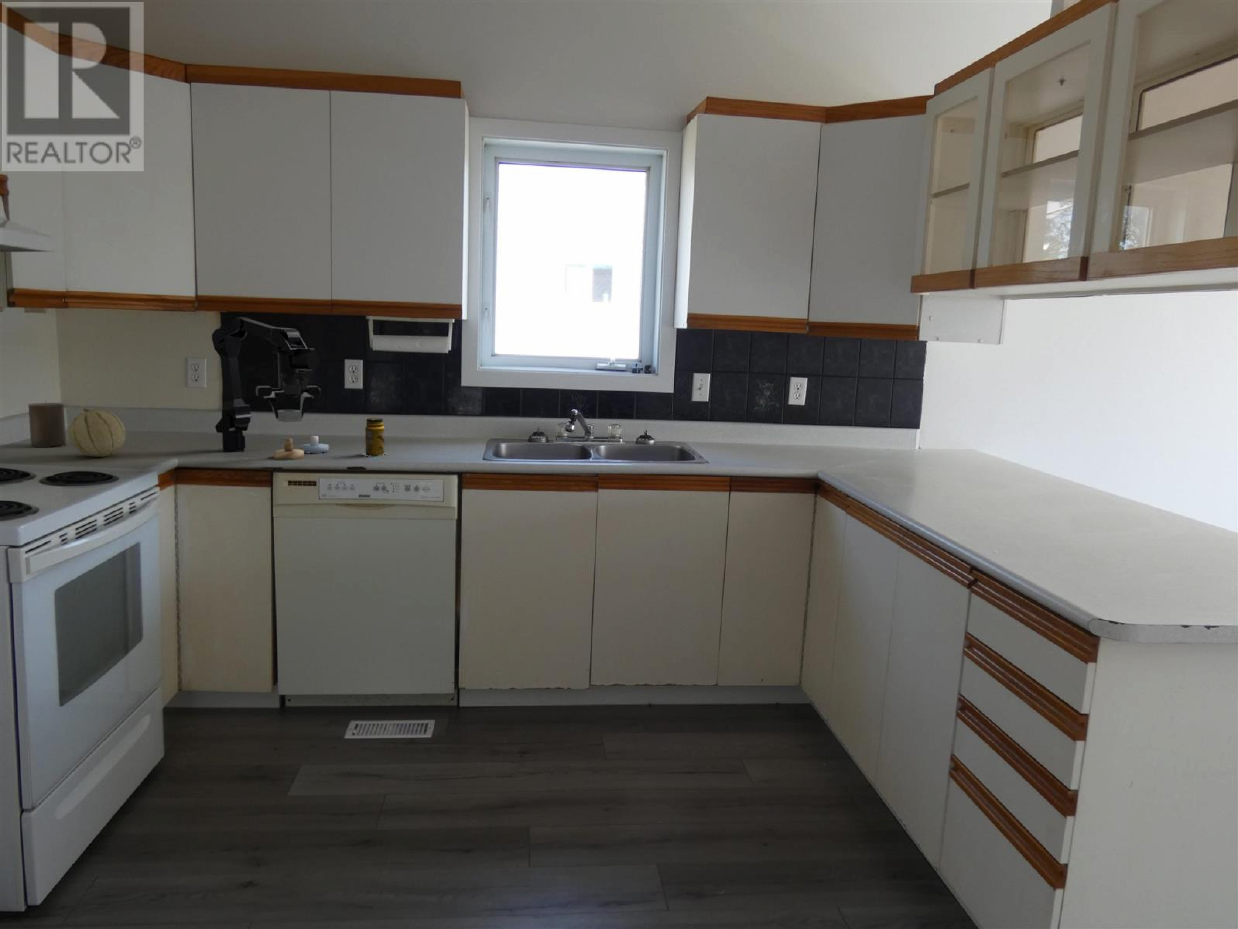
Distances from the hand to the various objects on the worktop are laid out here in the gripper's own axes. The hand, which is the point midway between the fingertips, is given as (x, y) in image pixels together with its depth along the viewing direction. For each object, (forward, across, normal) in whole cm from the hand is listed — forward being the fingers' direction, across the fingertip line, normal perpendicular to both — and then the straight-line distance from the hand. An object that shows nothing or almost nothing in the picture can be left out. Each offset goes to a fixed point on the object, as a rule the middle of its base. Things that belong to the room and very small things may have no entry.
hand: (289, 418), depth 279 cm
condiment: (+13, +26, -2) cm, 29 cm away
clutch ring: (+1, 0, 0) cm, 1 cm away
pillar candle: (+13, -67, +47) cm, 83 cm away
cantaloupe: (+13, -53, +18) cm, 57 cm away
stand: (+12, 0, -1) cm, 12 cm away
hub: (+12, +9, +10) cm, 18 cm away
